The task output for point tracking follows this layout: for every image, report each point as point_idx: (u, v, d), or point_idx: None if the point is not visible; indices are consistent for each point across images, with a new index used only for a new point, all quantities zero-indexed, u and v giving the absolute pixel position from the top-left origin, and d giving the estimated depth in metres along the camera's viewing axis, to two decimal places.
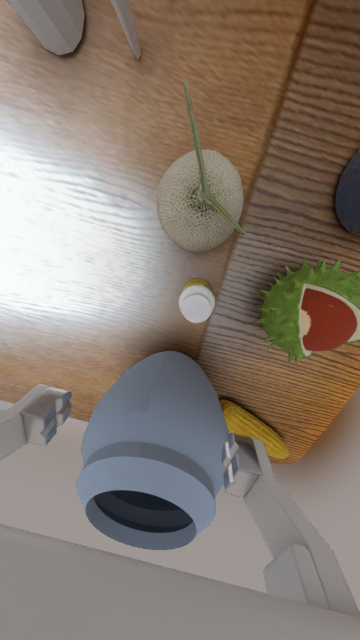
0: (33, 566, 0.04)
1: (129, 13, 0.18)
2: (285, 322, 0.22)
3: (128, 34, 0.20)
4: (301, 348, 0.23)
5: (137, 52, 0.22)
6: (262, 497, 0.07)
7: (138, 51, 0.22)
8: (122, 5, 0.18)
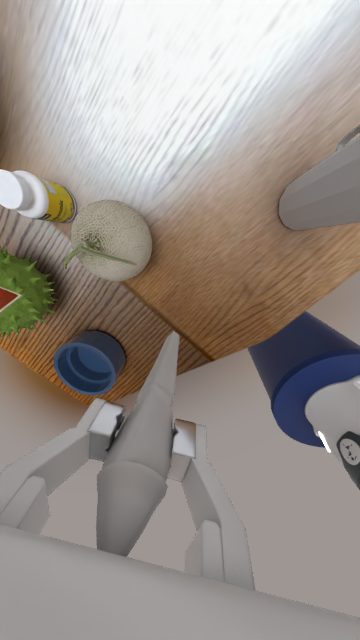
0: (33, 566, 0.04)
1: None
2: None
3: (158, 356, 0.14)
4: None
5: None
6: (193, 479, 0.07)
7: None
8: None
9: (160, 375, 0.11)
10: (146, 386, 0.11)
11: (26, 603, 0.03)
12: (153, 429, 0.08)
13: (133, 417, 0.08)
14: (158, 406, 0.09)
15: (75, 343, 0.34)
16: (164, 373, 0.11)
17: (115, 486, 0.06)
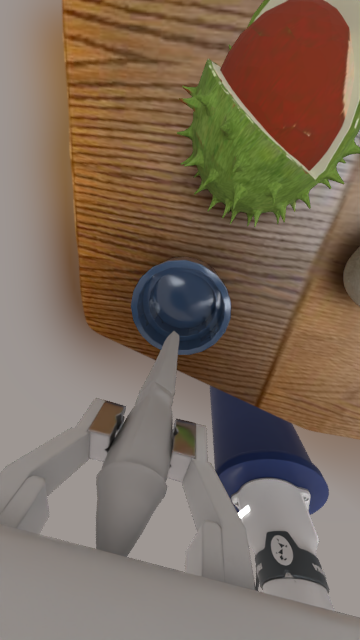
0: (33, 566, 0.04)
1: None
2: None
3: (158, 356, 0.14)
4: None
5: None
6: (193, 479, 0.07)
7: None
8: None
9: (160, 375, 0.11)
10: (146, 386, 0.11)
11: (26, 603, 0.03)
12: (153, 429, 0.08)
13: (133, 417, 0.08)
14: (158, 405, 0.09)
15: (221, 283, 0.21)
16: (164, 373, 0.11)
17: (115, 486, 0.06)
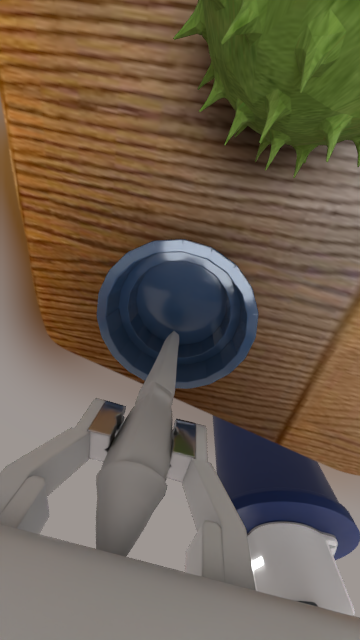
0: (33, 566, 0.04)
1: None
2: None
3: (158, 356, 0.14)
4: None
5: None
6: (193, 479, 0.07)
7: None
8: None
9: (160, 375, 0.11)
10: (146, 386, 0.11)
11: (26, 603, 0.03)
12: (153, 429, 0.08)
13: (133, 417, 0.08)
14: (158, 405, 0.09)
15: (243, 280, 0.13)
16: (163, 373, 0.11)
17: (115, 486, 0.06)
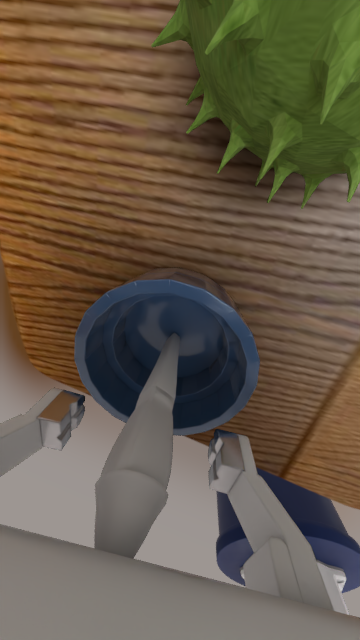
0: (33, 566, 0.04)
1: None
2: None
3: (158, 358, 0.14)
4: None
5: None
6: (244, 492, 0.07)
7: None
8: None
9: (161, 379, 0.11)
10: (146, 389, 0.10)
11: (26, 603, 0.03)
12: (153, 435, 0.07)
13: (133, 422, 0.08)
14: (159, 410, 0.09)
15: (242, 325, 0.11)
16: (164, 376, 0.11)
17: (114, 496, 0.06)
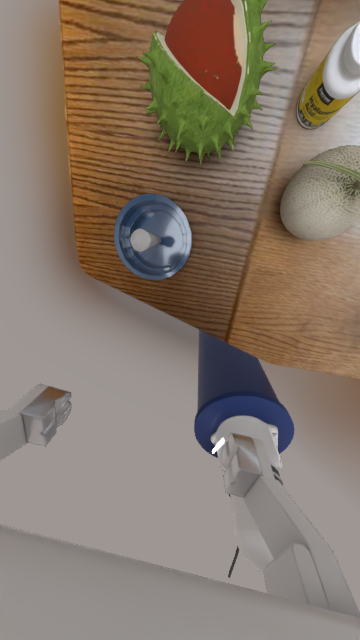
0: (33, 566, 0.04)
1: None
2: (261, 34, 0.17)
3: None
4: None
5: None
6: (262, 497, 0.07)
7: None
8: None
9: (150, 233, 0.28)
10: None
11: (26, 603, 0.03)
12: (147, 232, 0.24)
13: None
14: None
15: (182, 213, 0.28)
16: (152, 234, 0.28)
17: (136, 232, 0.23)
